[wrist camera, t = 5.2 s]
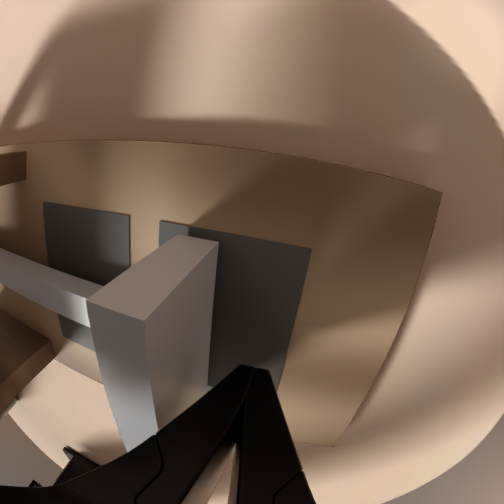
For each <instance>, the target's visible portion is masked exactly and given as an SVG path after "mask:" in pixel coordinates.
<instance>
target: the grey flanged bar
mask: <svg viewBox="0 0 504 504" xmlns="http://www.w3.org/2000/svg"><path fill="white" fill-rule="evenodd" d="M218 246H219V242H216V241H211V240H206V239H201V238H195V237H190V236H185V235H180V234H178V235H176V236H175V237H173V238H172V239H170V240H169V241H167V242H166V243H164V244H163V245H162V246H160V247H159V248H157V249H156V250H154V251H153V252H151V253H150V254H149V255H147V256H146V257H144V258H143V259H141V260H140V261H139V262H137V263H136V264H134V265H133V266H131V267H130V268H129V269H127V270H126V271H124V272H123V273H122V274H120V275H119V276H118V277H116V278H115V279H113V280H112V281H111V282H109V283H108V284H107V285H105V286H102V285H99V284H96V283H93V282H90V281H87V280H84V279H81V278H78V277H75V276H72V275H69V274H66V273H64V272H61V271H58V270H55V269H53V268H50V267H47V266H45V265H42V264H39V263H37V262H34V261H32V260H29V259H26V258H24V257H21V256H19V255H17V254H14V253H12V252H9V251H7V250H4V249H2V248H0V283H1V284H3V285H5V286H6V287H8V288H10V289H12V290H13V291H15V292H17V293H19V294H21V295H23V296H25V297H26V298H28V299H30V300H32V301H34V302H36V303H38V304H40V305H42V306H44V307H46V308H48V309H50V310H52V311H54V312H56V313H58V314H61V315H63V316H65V317H67V318H69V319H71V320H74V321H76V322H78V323H80V324H83V325H85V326H87V327H90V329H91V334H92V338H93V343H94V348H95V352H96V356H97V360H98V364H99V368H100V372H101V376H102V380H103V383H104V387H105V390H106V394H107V397H108V400H109V403H110V406H111V409H112V412H113V415H114V418H115V421H116V424H117V427H118V430H119V432H120V435H121V438H122V440H123V443H124V445H125V448H126V450H127V452H129V451H130V450H132V449H133V448H135V447H136V446H138V445H139V444H141V443H142V442H144V441H145V440H146V439H148V438H149V437H150V436H152V435H156V432H157V431H159V430H160V429H161V428H163V427H164V426H165V425H167V424H168V423H169V422H171V421H172V420H173V419H174V418H176V417H177V416H178V415H180V414H181V413H182V412H183V411H185V410H186V409H187V408H188V407H190V406H191V405H192V404H193V403H195V402H196V401H197V400H198V399H200V398H201V397H202V396H203V395H204V394H206V393H207V383H208V367H209V352H210V338H211V325H212V312H213V300H214V289H215V277H216V267H217V256H218Z"/></svg>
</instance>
